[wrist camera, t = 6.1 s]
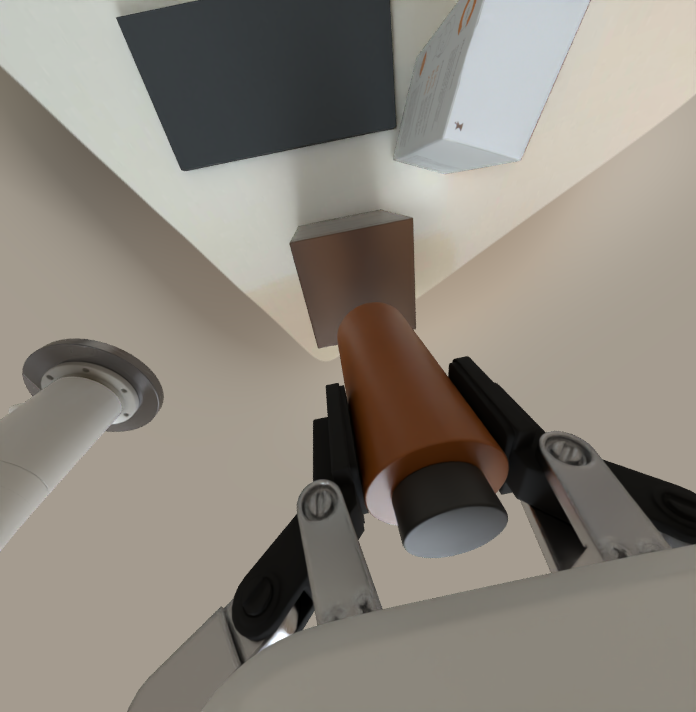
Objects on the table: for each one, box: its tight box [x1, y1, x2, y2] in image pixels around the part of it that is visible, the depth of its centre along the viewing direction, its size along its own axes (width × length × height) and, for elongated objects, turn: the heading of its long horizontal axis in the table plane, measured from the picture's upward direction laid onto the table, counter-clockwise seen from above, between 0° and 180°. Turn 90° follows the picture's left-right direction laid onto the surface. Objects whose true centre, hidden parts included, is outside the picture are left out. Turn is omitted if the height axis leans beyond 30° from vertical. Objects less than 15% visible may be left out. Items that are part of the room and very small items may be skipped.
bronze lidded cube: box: [290, 210, 416, 348], centre depth 28 cm, size 10×10×12 cm
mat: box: [116, 0, 396, 171], centre depth 23 cm, size 22×10×1 cm, turn 100°
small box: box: [394, 0, 591, 174], centre depth 21 cm, size 8×6×13 cm
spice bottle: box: [337, 302, 509, 558], centre depth 11 cm, size 4×4×11 cm
